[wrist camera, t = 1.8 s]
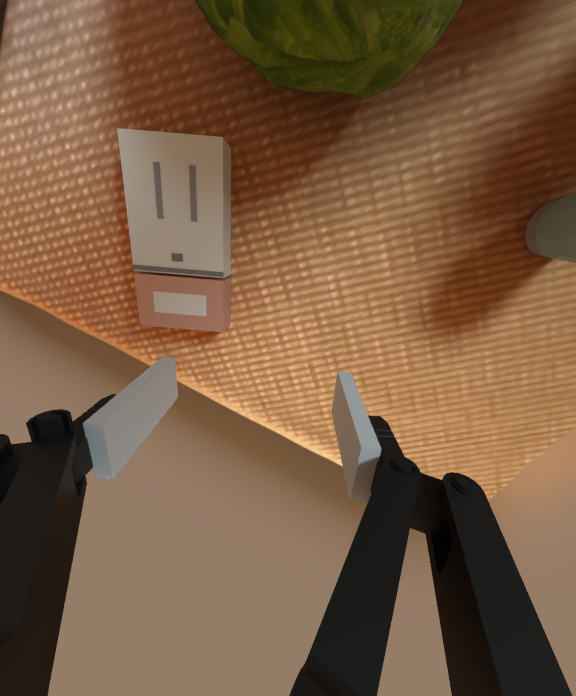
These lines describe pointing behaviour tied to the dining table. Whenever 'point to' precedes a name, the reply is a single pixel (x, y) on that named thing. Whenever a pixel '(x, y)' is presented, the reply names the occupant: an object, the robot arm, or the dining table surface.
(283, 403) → the dining table surface
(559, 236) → the coffee cup
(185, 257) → the two-slot toaster
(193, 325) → the stub
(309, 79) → the lettuce
